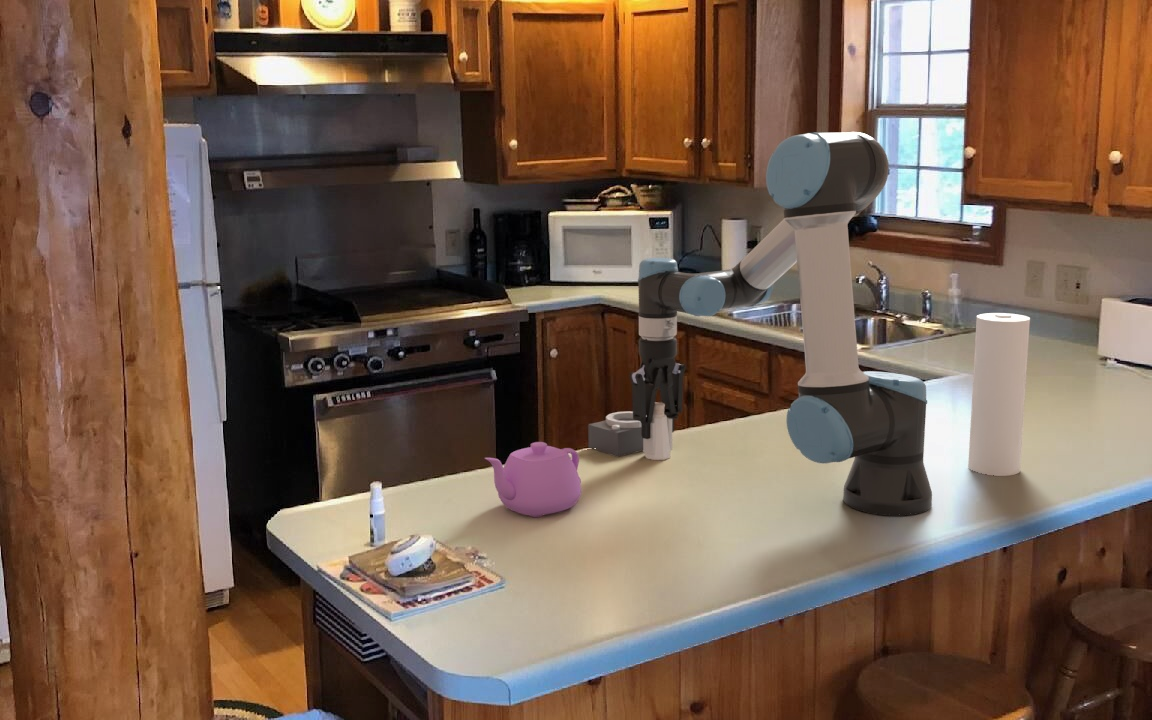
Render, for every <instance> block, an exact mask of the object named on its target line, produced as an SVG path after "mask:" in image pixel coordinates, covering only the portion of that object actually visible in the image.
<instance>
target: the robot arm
mask: <svg viewBox="0 0 1152 720" xmlns="http://www.w3.org/2000/svg"><path fill="white" fill-rule="evenodd" d="M889 170H890V167H889V159H888V155H887V153H886V151H885V149H884V148H883V146H882V145H881V144H880V142H878V140H876V139H875V138H874V137H872V136H870V135H868V134H866V133H863V132H857V131H846V132H807V133H803V134H797V135H792V136H789V137H787V138H786V139H784V140H782V141H781V142H780V143H779V144H777V146H776V148H775V151H774V152H772V154H771V155H770V158H769V160H768V163H767V168H766V173H765V182H766V183H765V184H766V188H767V191H768V194H769V196H770V197H771V198H772V199H773V200H772V201H774V203H775V204H777V205H778V206H780V207H782V208H783V209H782V210H783V219H782V220H781V221H780V222H779V223H778V224H777V225H776V226H775V227H774V228H773V229H771V231H770V232H769V233H768V234H767V235H765V236H764V238H763V239H762V240H761V241H760V242H759V243H757V245H756V246H754V248H752V249H751V250H750V252H749V253H747V254H746V255H745V256H744V257H743V258H742V259H741V260H740V261H739V262H737V264H736V265H735V266H734V267H732V268H730V269H722V270H716V271H707V272H699V273H686V272H681V271H679V268H678V262H677V261H676V259H674V258H669V257H668V258H667V257H648V258H644V259H642V260H641V261H640V262H639V265H638V268H639V269H638V279H637V282H638V283H637V285H638V335H639V336H640V338H638V355H639V357H640V359H641V362H640V365H639V369H637V370H636V372H634V371H630V372H629V374H628V376H629V380H630V383H631V395H632V396H631V398H632V399H631V400H632V401H631V402H632V403H631V404H632V412H633V419H634V420H637V421H640V422H641V436H642V438H643V450H642V452H643V453H644V454H645V453H647V454H650V455H655V423H654V422H652V419H653V412H654V406H655V402H656V398H657V391H658V390H659V395H660V396H659V397H660V400H661V401H660V402H661V403H664V404H665V407H664V414H665V415H666V416H667V425H668V436H669V446H670V451H673V434H674V432H675V419H678V418H679V414H681V413H682V412H683V397H684V395H683V394H684V391H683V390H684V375H685V372H686V369H687V366H686V365H685V364H680V363H677V362H676V359H675V357H677V355H678V339H677V338H676V335H678V334H677V333H678V313H683V314H689V315H691V316H694V317H712V316H714V315H716V314H717V313H718V312H720V311H722V310H728V309H735V308H737V309H738V308H743V307H745V308H746V307H748V308H749V307H754V306H756V305H759V304H760V305H761V304H762V303H765V302H767V301H768V300H769V299H770V298H771V294H772V292H773V289H774V283H776V282H777V281H778V280H779V279H780V278H781V277H782V276H783V275H785V274H786V273H787V272H788V271H789V270H790V269H791V268H792V267H793V266H795V264H797V277H798V289H799V298H800V299H799V301H800V312H801V323H802V324H801V325H802V337H803V348H804V361H805V362H804V363H805V374H803V376H802V377H801V378H800V380H798V382H797V388H798V397H797V398H796V399H795V400H794V401H792V403H791V404H790V408H788V410H787V411H786V412H787V414H786V428H787V431H788V432H787V433H788V435H789V438H790V440H791V442H792V444H793V446H795V448H796V450H798V451H799V453H800V454H801V455H802V456H804V457H805V458H806V459H808V460H809V461H811V462H813V463H817V464H831V463H842V462H844V461H848V459H852V458H854V459H853V463H852V465H851V467H850V470H849V472H848V475H847V478H846V480H845V483H844V486H843V491H842V492H843V495H842V496H843V497H842V500H843V502H844V504H846V505H847V506H849V507H850V508H852V509H854V510H856V511H860V512H864V513H866V514H872V515H882V516H895V517H896V516H899V517H900V516H911V515H918V514H921V513H922V514H923V513H924V512H927V511H928V510H929V509H931V507H932V505H933V504H932V503H933V492H932V487H931V485H930V481H929V477H928V474H927V470H926V467H925V464H924V453H925V436H926V435H925V433H926V418H927V417H926V414H927V404H928V400H927V385H926V383H925V381H923V380H922V379H920V378H918V377H915V376H911V375H907V374H900V373H896V372H895V373H894V372H885V371H875V370H874V371H873V370H872V371H871V370H869V371H868V370H867V371H862V370H861V369H860V368H859V356H858V342H857V332H856V320H855V317H856V316H855V303H854V293H853V292H854V291H853V279H852V267H851V265H852V264H851V254H850V242H849V241H850V240H849V229H848V228H849V227H848V224H849V223H850V221H851V219H852V218H853V217H855V216H858V215H859V214H861V212H863V211H864V210H865V209H866V208H867V207H868V206H870V204H871V203H873V201H874V200H875V199H876V198H877V197H878V196H879V195H880V193H881V192H882V191H883V189H884V188H885V185H886V183H887V181H888V178H889V177H888V176H889ZM646 416H647V417H646Z"/></svg>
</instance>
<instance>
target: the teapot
mask: <svg viewBox="0 0 1152 720" xmlns="http://www.w3.org/2000/svg"><path fill="white" fill-rule="evenodd" d="M529 446H530V447H529ZM529 446H528V447H524V448H521V449H517V450H515V451H513V452H511V453H510V454H509V456H508V457H507V459H506V461H505V464H504V466H503V464H502V461H501V460H499V459H498V458H494V457H484V460H487V461H488V462H490V464H491V466H492V469H493V480H494V486H495V489H496V491H497V496H498V498H499V499H500V502H501V503H502V504H503V505H504V507H505V508H507V509H508V510H511V511H513V512H515V513H517V514H521V515H524V516H530V517H533V518H540V517H543V516H544V515H550V514H555V513H556V514H557V513H559V512H563V511H566V510H569V509H571V508H572V507H574V506H576V504H577V502H578V501H579V499H580V497H581V495H582V484H581V482H582V481H581V478H580V476H579V473H578V468H579V462H580V457H579V454H578V452H577V451H576V450H575V449H573V448H571V447H564V448H561V449H560V448H558V447H555V446H551V445H548V443H546V442H544V441H535V442H532V443H530V445H529ZM570 454H571V456H570Z"/></svg>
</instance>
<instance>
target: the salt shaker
mask: <svg viewBox="0 0 1152 720" xmlns="http://www.w3.org/2000/svg"><path fill="white" fill-rule="evenodd" d="M664 407H665V404H664V403H662V402H661V401H658V402H656V401H655V406H654V412H653V419H652V422H654V423H655V455H650V454H647V453H644V455H645V459H647V460H652V461H665V460H667V459H670V458H671V450H670V446H669V436H668V425H667V416H666V415H665V414H664Z"/></svg>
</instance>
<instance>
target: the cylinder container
mask: <svg viewBox="0 0 1152 720" xmlns="http://www.w3.org/2000/svg"><path fill="white" fill-rule="evenodd" d="M1030 323H1031V317H1029V316H1027V315H1023V314H1017V313H1016V314H1015V313H1008V312H1007V313H1005V312H989V313H988V312H986V313H980V314H978V315H976V323H975V325H976V326H975V341H974V342H975V343H974V358H973V359H974V360H973V373H972V374H973V376H972V377H973V378H972V394H971V410H970V411H971V412H970V427H969V429H970V430H969V443H968V444H969V449H968V464H967V467H969V468H970V469H971V470H970V469H969V468H968V469H969V470H970V471H972V470H973V471H972V472H974V471H976V472H975V473H977V472H978V473H977V474H981V473H982V474H981V475H985V474H987V476H993V475H994V476H995V477H1006V476H1014V475H1017V474H1019V473H1020V471H1021V460H1022V459H1021V458H1022V446H1023V427H1024V417H1025V414H1024V412H1025V398H1026V385H1027V384H1026V382H1027V371H1028V369H1027V368H1028V357H1029V356H1028V354H1029V339H1030V338H1029V337H1030Z"/></svg>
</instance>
